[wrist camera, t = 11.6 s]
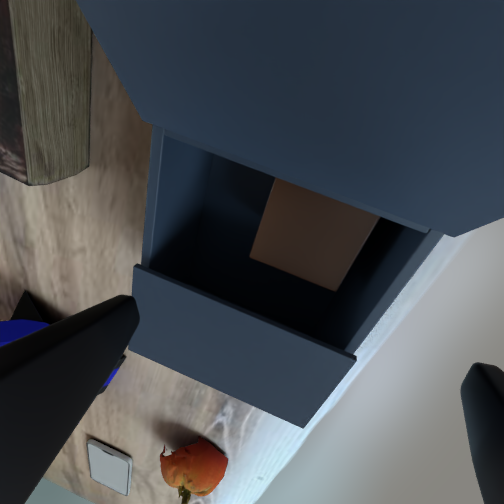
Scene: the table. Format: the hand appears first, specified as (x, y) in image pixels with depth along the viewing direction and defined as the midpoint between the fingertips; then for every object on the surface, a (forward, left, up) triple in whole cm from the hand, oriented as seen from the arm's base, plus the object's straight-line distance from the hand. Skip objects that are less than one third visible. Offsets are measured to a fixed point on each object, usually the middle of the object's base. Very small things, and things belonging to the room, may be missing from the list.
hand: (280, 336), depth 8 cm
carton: (+1, +3, -11) cm, 12 cm away
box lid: (+2, -5, -2) cm, 6 cm away
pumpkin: (+1, +35, -11) cm, 37 cm away
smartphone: (+13, +53, -11) cm, 56 cm away
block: (0, 0, -11) cm, 11 cm away
